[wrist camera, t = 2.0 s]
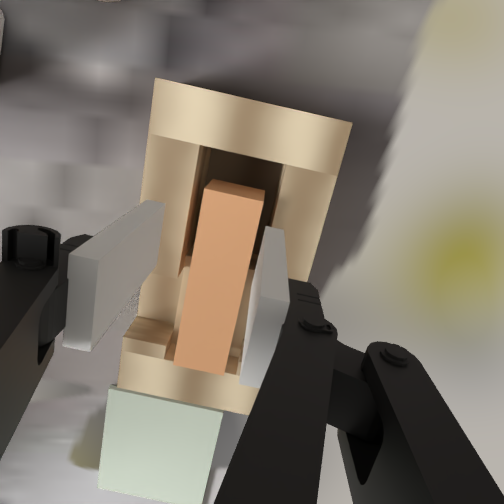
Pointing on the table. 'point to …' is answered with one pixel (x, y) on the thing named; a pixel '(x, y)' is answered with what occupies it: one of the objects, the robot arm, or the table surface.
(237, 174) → the frame
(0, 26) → the soap bottle
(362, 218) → the table surface
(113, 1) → the coffee cup
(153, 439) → the mat
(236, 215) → the bar
